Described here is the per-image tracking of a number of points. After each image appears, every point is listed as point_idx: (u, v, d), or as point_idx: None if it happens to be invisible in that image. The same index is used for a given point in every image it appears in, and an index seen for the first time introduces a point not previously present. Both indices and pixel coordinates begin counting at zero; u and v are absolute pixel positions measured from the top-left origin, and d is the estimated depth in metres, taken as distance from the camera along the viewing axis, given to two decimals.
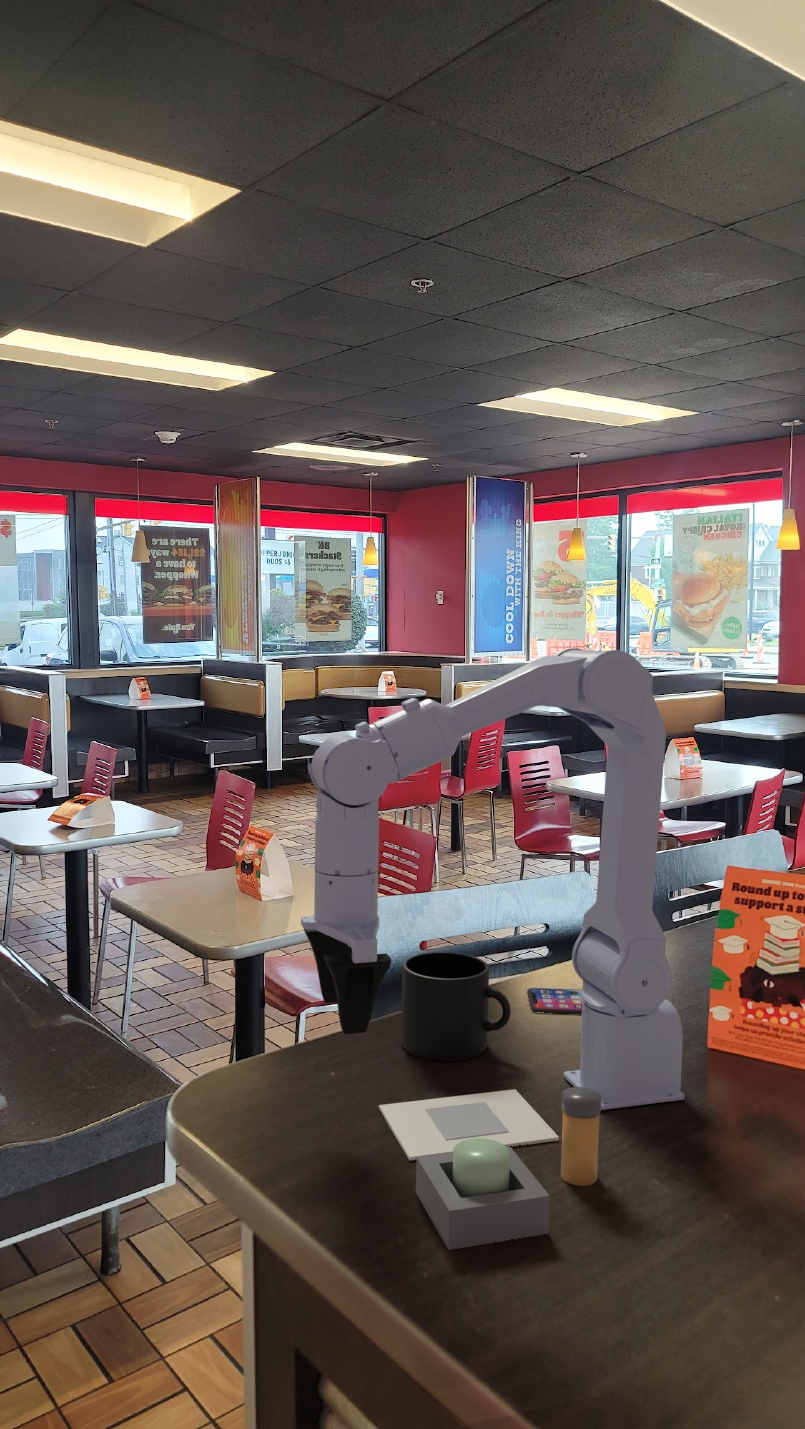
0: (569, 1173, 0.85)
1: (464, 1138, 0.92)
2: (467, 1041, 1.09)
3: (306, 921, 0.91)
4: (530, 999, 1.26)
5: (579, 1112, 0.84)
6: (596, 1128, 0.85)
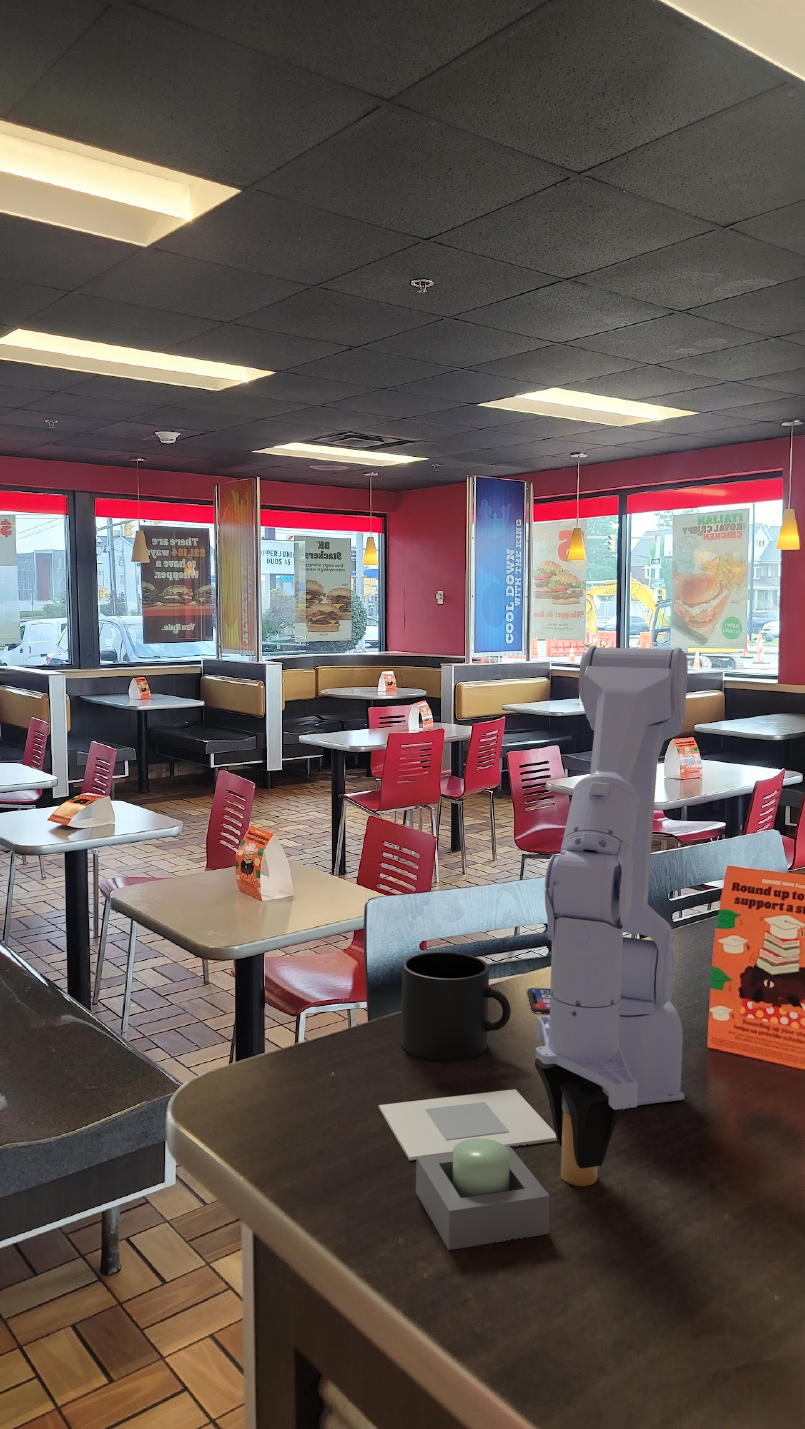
0: (569, 1173, 0.85)
1: (464, 1138, 0.92)
2: (467, 1041, 1.09)
3: (544, 1054, 0.84)
4: (530, 999, 1.26)
5: None
6: None
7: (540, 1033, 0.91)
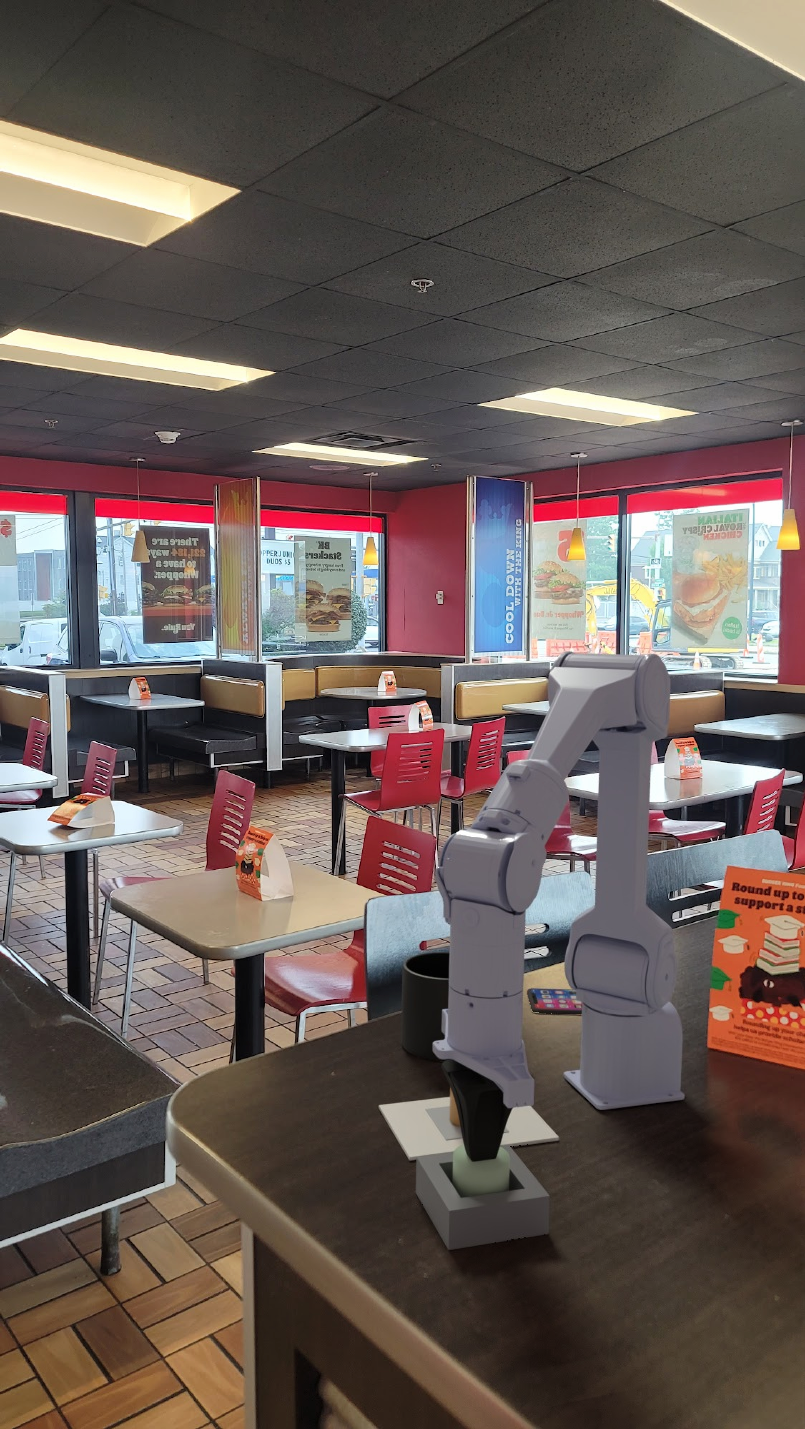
0: (455, 1116, 0.94)
1: None
2: None
3: (440, 1048, 0.78)
4: (530, 999, 1.26)
5: None
6: None
7: (445, 1027, 0.85)
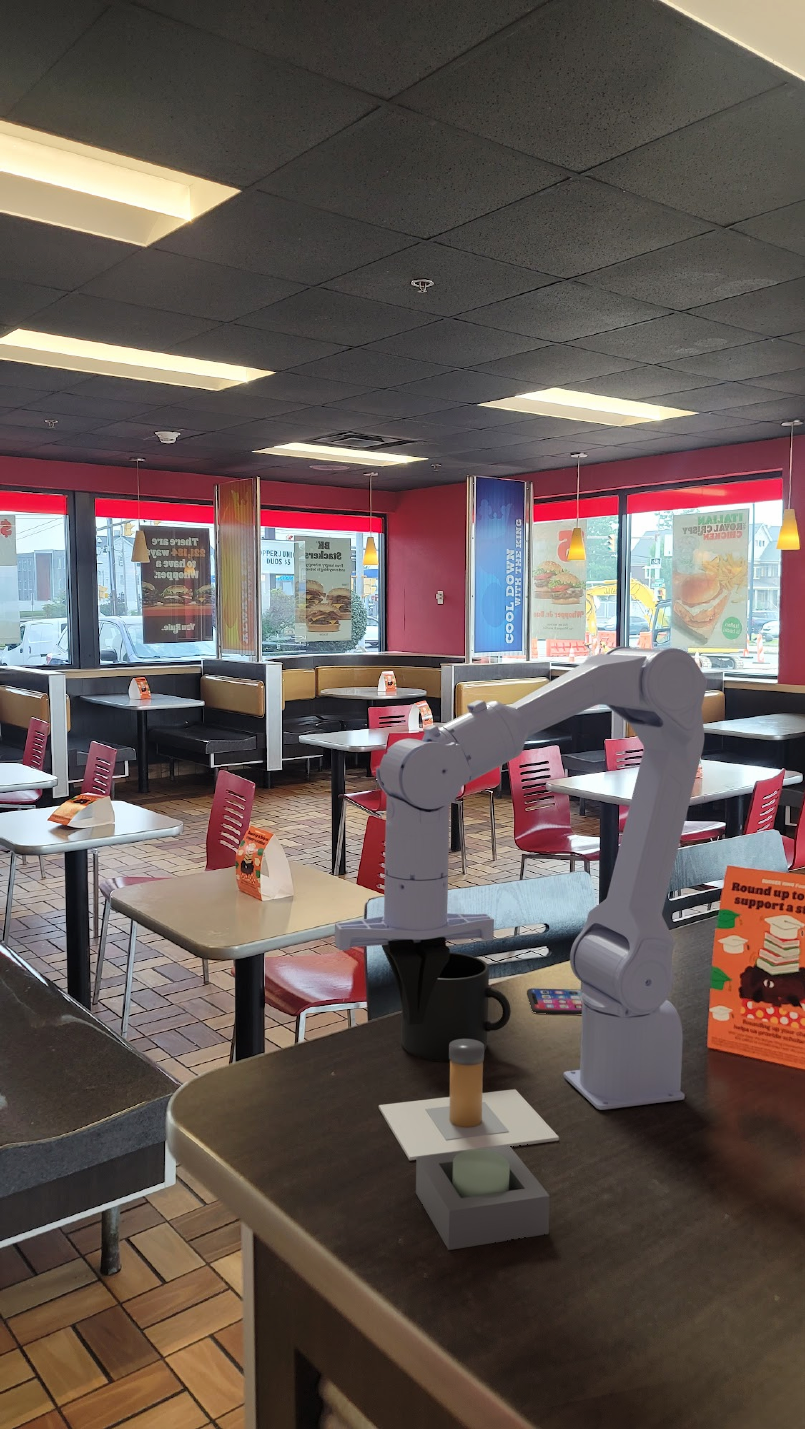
0: (456, 1116, 0.94)
1: (464, 1138, 0.92)
2: None
3: None
4: (530, 1000, 1.26)
5: (463, 1059, 0.93)
6: (479, 1074, 0.94)
7: None
